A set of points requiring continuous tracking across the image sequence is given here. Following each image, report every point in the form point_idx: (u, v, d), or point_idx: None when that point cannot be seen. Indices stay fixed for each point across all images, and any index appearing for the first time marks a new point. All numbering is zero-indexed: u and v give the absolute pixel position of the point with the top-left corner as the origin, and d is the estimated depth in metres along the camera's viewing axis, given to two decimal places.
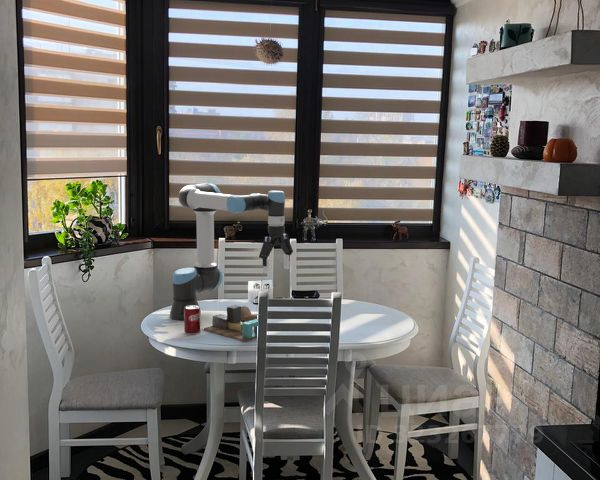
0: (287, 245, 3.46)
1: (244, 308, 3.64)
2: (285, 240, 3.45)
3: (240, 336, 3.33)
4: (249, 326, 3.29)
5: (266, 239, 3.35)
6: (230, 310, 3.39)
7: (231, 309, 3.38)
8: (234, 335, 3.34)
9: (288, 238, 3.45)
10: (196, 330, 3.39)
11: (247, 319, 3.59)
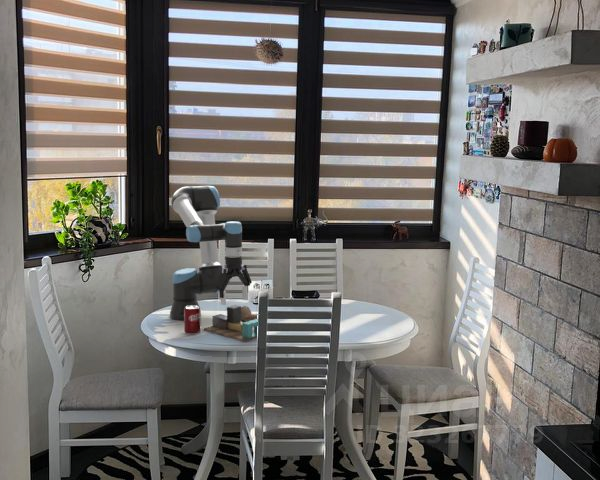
0: (245, 276, 3.44)
1: (244, 308, 3.64)
2: (243, 271, 3.42)
3: (240, 336, 3.33)
4: (249, 326, 3.29)
5: (223, 271, 3.32)
6: (230, 310, 3.39)
7: (231, 309, 3.38)
8: (234, 335, 3.34)
9: (246, 269, 3.42)
10: (196, 330, 3.39)
11: (247, 319, 3.59)
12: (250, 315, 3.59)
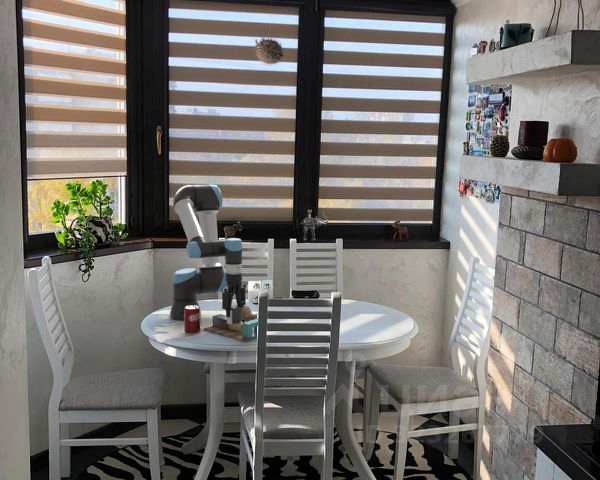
0: (242, 296, 3.43)
1: (245, 308, 3.64)
2: (241, 290, 3.43)
3: (240, 336, 3.33)
4: (249, 326, 3.29)
5: (224, 291, 3.34)
6: None
7: (231, 309, 3.38)
8: (234, 335, 3.34)
9: None
10: (196, 330, 3.39)
11: (247, 319, 3.59)
12: (250, 315, 3.59)
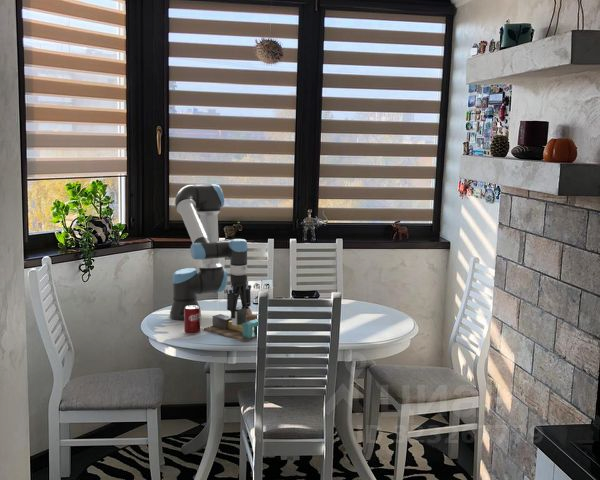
0: (247, 297, 3.41)
1: None
2: (246, 291, 3.41)
3: (240, 336, 3.33)
4: (249, 326, 3.29)
5: (229, 292, 3.32)
6: None
7: (236, 310, 3.36)
8: (234, 335, 3.34)
9: None
10: (196, 330, 3.39)
11: (248, 319, 3.59)
12: (250, 315, 3.59)
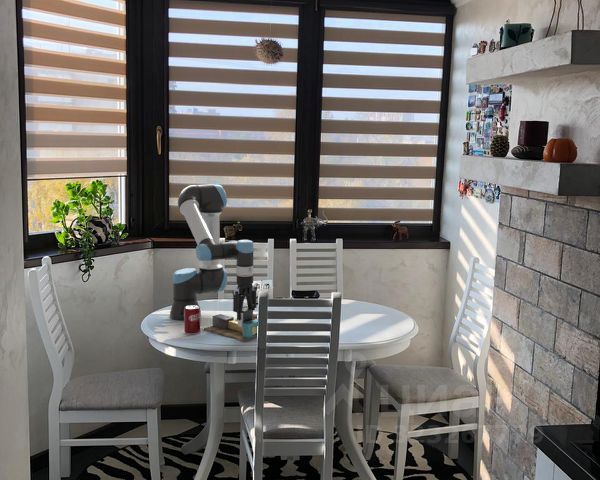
0: (253, 298, 3.39)
1: None
2: (252, 292, 3.38)
3: (240, 336, 3.33)
4: (249, 326, 3.29)
5: (235, 294, 3.29)
6: None
7: (242, 312, 3.34)
8: (234, 335, 3.34)
9: (256, 291, 3.38)
10: (196, 330, 3.39)
11: None
12: None
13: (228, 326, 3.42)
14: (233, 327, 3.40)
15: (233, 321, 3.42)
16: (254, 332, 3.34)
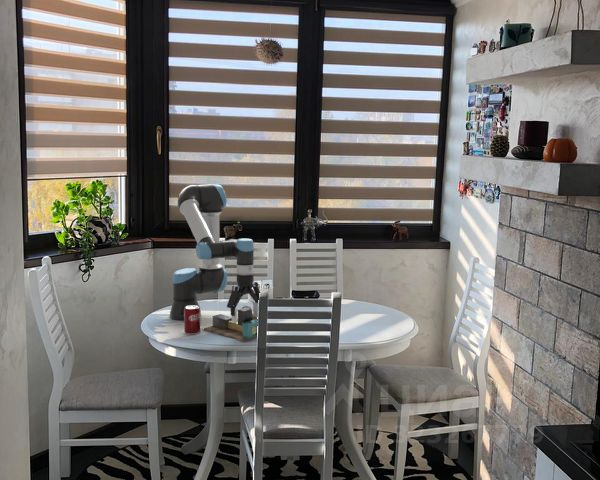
0: (257, 293, 3.40)
1: None
2: (254, 288, 3.39)
3: (240, 336, 3.33)
4: (249, 326, 3.29)
5: (234, 289, 3.29)
6: (241, 313, 3.34)
7: (242, 312, 3.34)
8: (234, 335, 3.34)
9: (257, 286, 3.39)
10: (196, 330, 3.39)
11: None
12: None
13: (228, 326, 3.42)
14: (233, 327, 3.40)
15: None
16: (254, 332, 3.34)
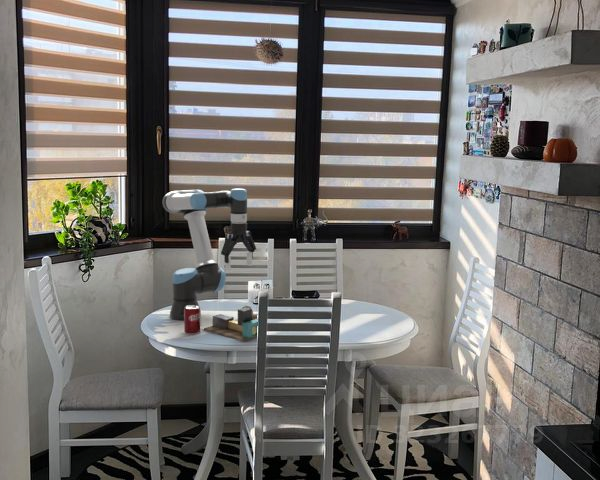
0: (250, 242, 3.51)
1: None
2: (248, 237, 3.50)
3: (240, 336, 3.33)
4: (249, 326, 3.29)
5: (228, 236, 3.40)
6: (241, 313, 3.34)
7: (242, 312, 3.34)
8: (234, 335, 3.34)
9: None
10: (196, 330, 3.39)
11: None
12: None
13: (228, 326, 3.42)
14: (233, 327, 3.40)
15: (233, 321, 3.42)
16: (254, 332, 3.34)
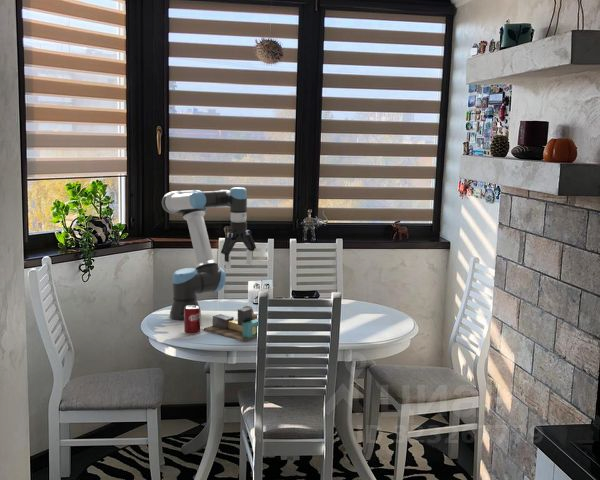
0: (250, 241, 3.52)
1: None
2: (248, 236, 3.51)
3: (240, 336, 3.33)
4: (249, 326, 3.29)
5: (228, 235, 3.41)
6: (241, 313, 3.34)
7: (242, 312, 3.34)
8: (234, 335, 3.34)
9: None
10: (196, 330, 3.39)
11: None
12: None
13: (228, 326, 3.42)
14: (233, 327, 3.40)
15: (233, 321, 3.42)
16: (254, 332, 3.34)
